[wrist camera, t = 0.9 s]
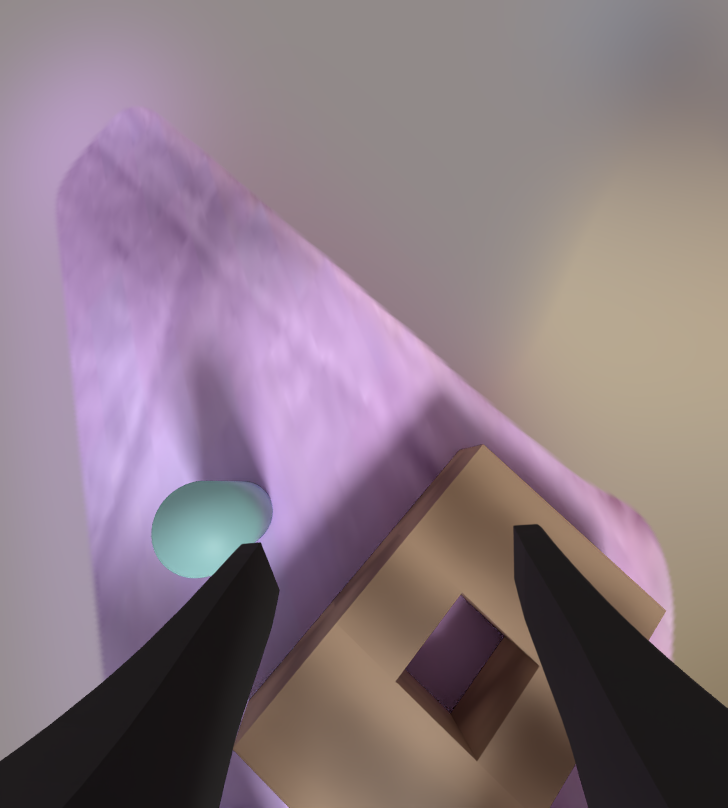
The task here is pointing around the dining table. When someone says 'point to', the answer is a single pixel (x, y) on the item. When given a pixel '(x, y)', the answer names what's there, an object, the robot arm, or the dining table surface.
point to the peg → (208, 524)
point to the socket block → (400, 641)
